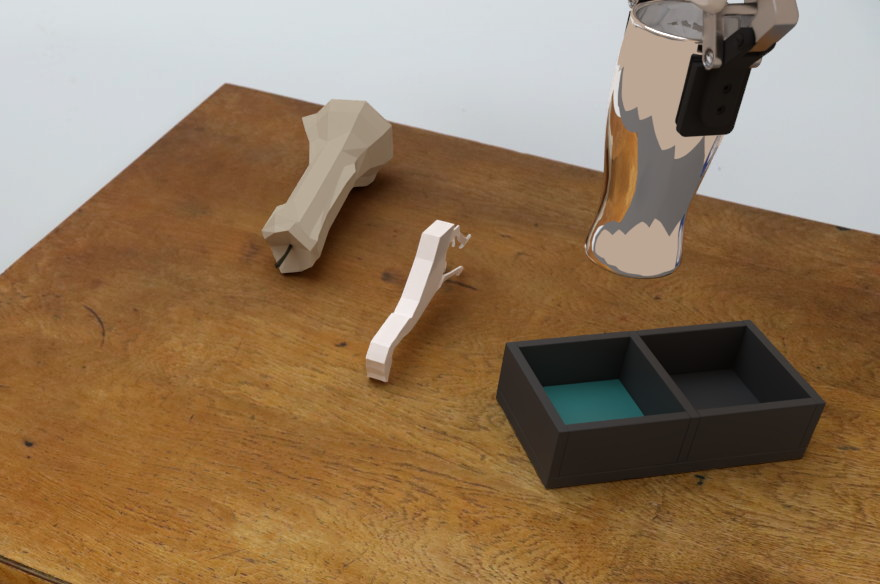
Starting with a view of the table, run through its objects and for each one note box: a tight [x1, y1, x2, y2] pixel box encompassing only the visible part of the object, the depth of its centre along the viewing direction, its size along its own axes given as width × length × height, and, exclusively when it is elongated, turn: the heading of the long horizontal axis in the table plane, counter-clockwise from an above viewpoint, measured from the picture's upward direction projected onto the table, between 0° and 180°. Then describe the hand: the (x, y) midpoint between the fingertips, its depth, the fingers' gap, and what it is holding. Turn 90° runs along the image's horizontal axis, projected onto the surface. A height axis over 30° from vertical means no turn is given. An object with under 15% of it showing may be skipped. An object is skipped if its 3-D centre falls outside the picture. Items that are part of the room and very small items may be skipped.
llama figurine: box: [365, 219, 472, 383], centre depth 87 cm, size 2×11×18 cm
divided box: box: [495, 319, 827, 490], centre depth 78 cm, size 19×10×5 cm, turn 102°
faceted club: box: [261, 98, 394, 274], centre depth 98 cm, size 9×8×25 cm
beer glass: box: [582, 0, 741, 280], centre depth 65 cm, size 7×7×15 cm
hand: (671, 101), depth 64 cm, fingers closed on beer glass, 7 cm apart
